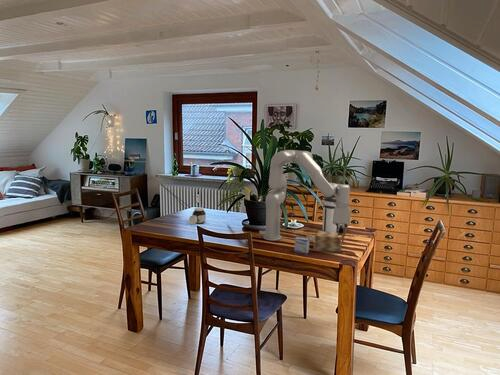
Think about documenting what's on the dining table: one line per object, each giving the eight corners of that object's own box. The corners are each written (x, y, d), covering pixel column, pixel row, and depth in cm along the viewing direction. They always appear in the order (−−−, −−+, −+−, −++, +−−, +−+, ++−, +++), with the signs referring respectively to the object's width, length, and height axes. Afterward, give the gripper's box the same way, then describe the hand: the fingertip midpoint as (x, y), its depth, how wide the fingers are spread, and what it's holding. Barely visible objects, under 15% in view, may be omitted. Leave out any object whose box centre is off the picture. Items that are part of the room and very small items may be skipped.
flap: (342, 243, 213) (345, 230, 212) (341, 237, 225) (344, 225, 224) (342, 243, 213) (346, 230, 212) (341, 237, 225) (345, 225, 224)
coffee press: (329, 237, 242) (332, 194, 237) (316, 231, 257) (318, 190, 252) (349, 235, 250) (352, 193, 245) (335, 229, 264) (337, 189, 259)
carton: (304, 252, 213) (305, 241, 212) (307, 240, 236) (307, 230, 235) (341, 255, 209) (342, 244, 208) (339, 242, 232) (340, 232, 231)
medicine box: (294, 252, 213) (294, 238, 211) (296, 249, 217) (296, 236, 215) (306, 254, 210) (307, 240, 208) (308, 252, 214) (309, 238, 212)
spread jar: (206, 221, 276) (206, 207, 274) (203, 225, 265) (203, 210, 263) (191, 221, 277) (191, 206, 275) (187, 225, 266) (187, 209, 264)
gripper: (329, 205, 214) (328, 234, 217) (355, 206, 211) (353, 236, 214) (329, 202, 221) (328, 231, 224) (354, 204, 218) (352, 233, 221)
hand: (340, 233), depth 219 cm, fingers closed
